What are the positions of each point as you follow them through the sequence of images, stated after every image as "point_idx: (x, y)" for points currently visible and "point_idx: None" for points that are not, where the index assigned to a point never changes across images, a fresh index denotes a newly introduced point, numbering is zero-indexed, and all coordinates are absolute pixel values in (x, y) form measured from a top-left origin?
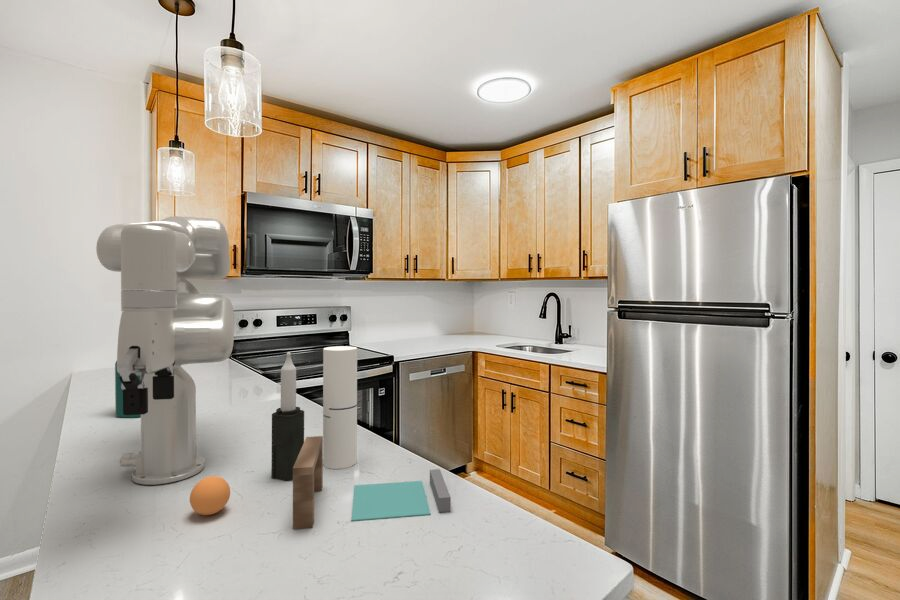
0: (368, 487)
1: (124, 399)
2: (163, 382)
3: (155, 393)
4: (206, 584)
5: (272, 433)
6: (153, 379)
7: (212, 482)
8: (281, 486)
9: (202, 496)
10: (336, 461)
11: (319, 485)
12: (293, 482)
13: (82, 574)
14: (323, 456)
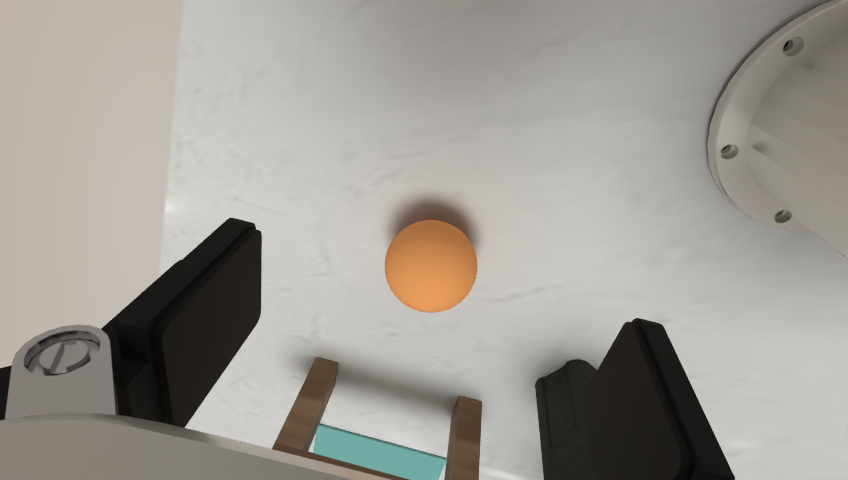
0: (426, 472)
1: (177, 275)
2: (630, 471)
3: (629, 359)
4: (181, 240)
5: (593, 466)
6: (672, 451)
7: (403, 294)
8: (512, 368)
9: (386, 260)
10: None
11: (451, 424)
12: (281, 430)
13: (240, 26)
14: None
